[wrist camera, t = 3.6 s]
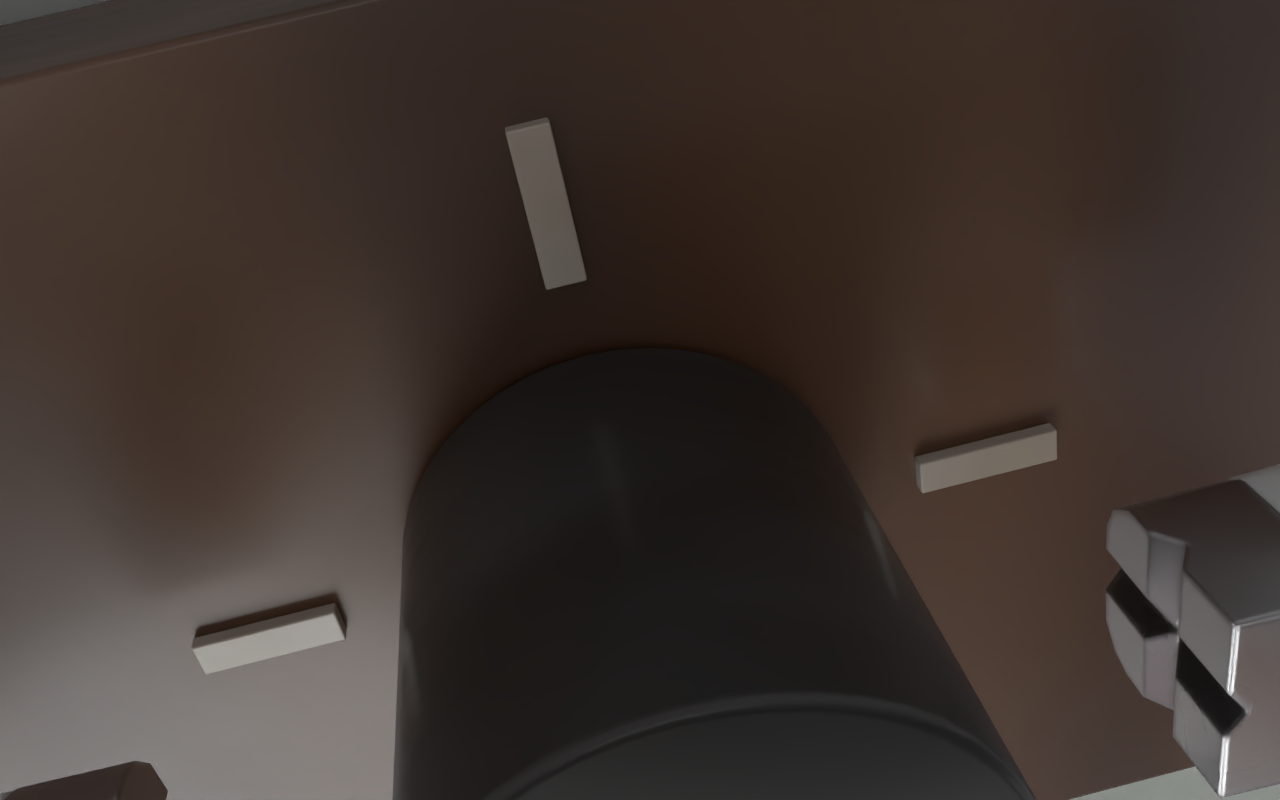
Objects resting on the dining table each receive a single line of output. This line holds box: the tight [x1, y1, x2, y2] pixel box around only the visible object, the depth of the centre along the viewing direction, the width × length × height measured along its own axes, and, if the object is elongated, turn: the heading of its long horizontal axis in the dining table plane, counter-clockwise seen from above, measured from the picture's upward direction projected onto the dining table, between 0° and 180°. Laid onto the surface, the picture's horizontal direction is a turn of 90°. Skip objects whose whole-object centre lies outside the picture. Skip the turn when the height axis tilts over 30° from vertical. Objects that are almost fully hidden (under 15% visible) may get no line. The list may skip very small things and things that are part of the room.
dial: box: [393, 348, 1037, 800], centre depth 9 cm, size 4×4×5 cm
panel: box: [0, 0, 1280, 800], centre depth 13 cm, size 14×11×3 cm
